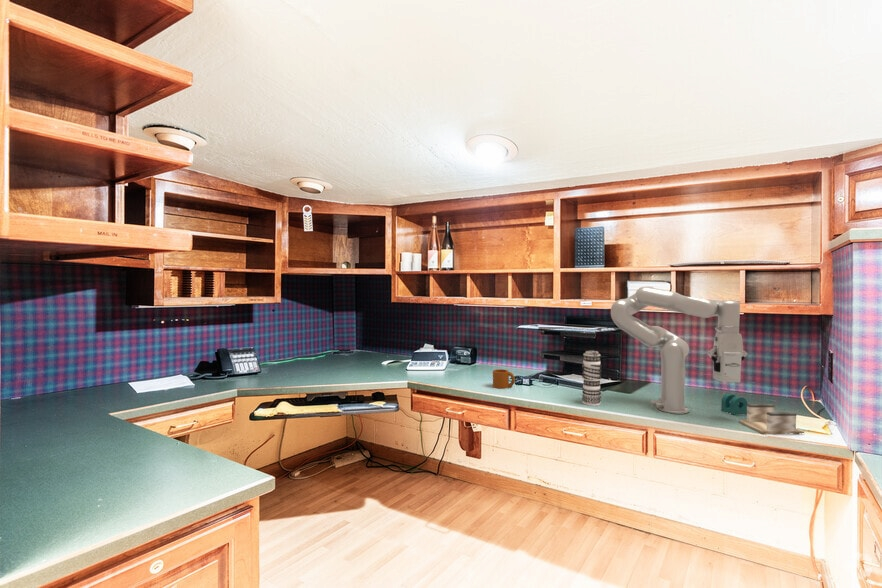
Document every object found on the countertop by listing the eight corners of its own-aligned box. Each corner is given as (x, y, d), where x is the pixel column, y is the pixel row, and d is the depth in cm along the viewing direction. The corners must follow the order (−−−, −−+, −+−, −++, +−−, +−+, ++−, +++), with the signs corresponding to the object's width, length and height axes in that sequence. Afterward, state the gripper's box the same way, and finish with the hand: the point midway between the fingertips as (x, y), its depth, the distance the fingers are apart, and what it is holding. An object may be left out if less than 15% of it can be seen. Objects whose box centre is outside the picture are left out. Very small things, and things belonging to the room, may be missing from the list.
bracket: (733, 415, 187) (734, 397, 187) (721, 411, 194) (721, 393, 194) (769, 413, 190) (769, 396, 190) (755, 409, 197) (756, 392, 196)
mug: (511, 390, 231) (511, 373, 230) (490, 388, 236) (490, 371, 236) (516, 386, 239) (516, 370, 238) (495, 384, 244) (495, 368, 244)
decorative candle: (603, 402, 208) (604, 350, 207) (599, 406, 200) (599, 353, 199) (584, 399, 212) (584, 349, 212) (579, 403, 205) (579, 351, 204)
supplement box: (722, 382, 178) (723, 352, 177) (712, 378, 185) (713, 349, 185) (741, 382, 178) (742, 352, 177) (729, 378, 185) (730, 349, 184)
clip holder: (762, 433, 164) (762, 413, 164) (738, 422, 177) (739, 404, 177) (804, 434, 164) (804, 413, 164) (777, 422, 177) (778, 404, 177)
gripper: (713, 330, 177) (711, 373, 178) (755, 331, 177) (753, 373, 178) (702, 328, 184) (700, 369, 185) (742, 329, 184) (741, 369, 185)
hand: (726, 371), depth 181 cm, fingers closed on supplement box, 7 cm apart
